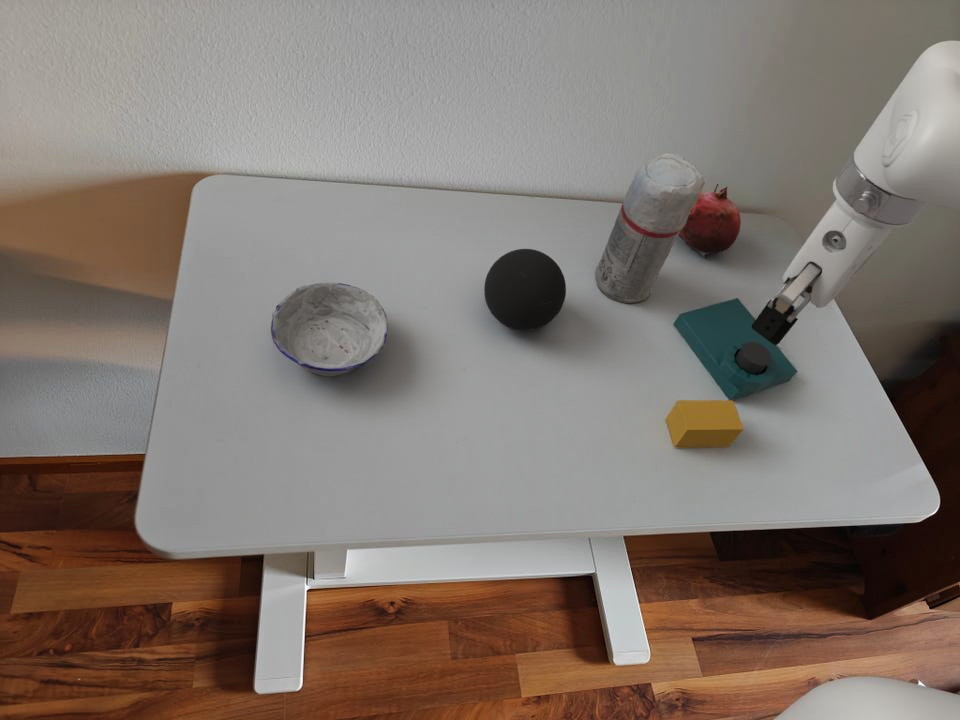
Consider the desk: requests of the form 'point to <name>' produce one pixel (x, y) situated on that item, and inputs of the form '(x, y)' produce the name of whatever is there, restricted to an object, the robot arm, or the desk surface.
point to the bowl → (329, 327)
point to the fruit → (712, 223)
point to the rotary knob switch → (731, 347)
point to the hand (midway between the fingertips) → (786, 313)
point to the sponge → (704, 423)
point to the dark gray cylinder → (753, 358)
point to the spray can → (648, 227)
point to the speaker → (525, 289)
